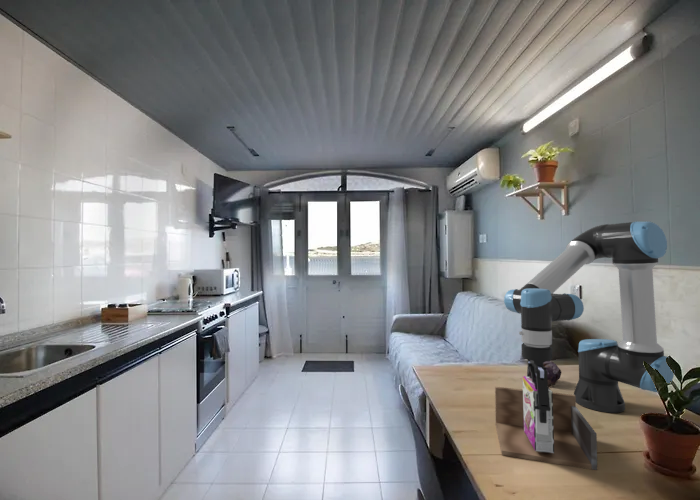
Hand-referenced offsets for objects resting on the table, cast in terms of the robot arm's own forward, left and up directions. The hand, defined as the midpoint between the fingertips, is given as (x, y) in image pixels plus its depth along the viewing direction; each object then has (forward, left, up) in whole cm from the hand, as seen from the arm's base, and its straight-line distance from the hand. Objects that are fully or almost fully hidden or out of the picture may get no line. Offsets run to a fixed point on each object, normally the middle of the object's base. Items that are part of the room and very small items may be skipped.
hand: (537, 423), depth 97 cm
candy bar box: (0, 0, -5) cm, 5 cm away
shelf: (-1, -3, -7) cm, 8 cm away
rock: (-15, -58, -7) cm, 60 cm away
